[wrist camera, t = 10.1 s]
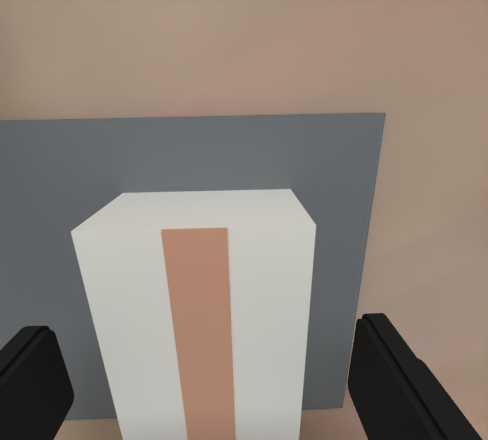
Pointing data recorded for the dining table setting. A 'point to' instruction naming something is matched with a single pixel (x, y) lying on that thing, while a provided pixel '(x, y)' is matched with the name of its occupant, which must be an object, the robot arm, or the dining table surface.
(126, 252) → the card deck
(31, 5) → the dining table surface
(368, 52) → the dining table surface
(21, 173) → the mat
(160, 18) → the dining table surface
